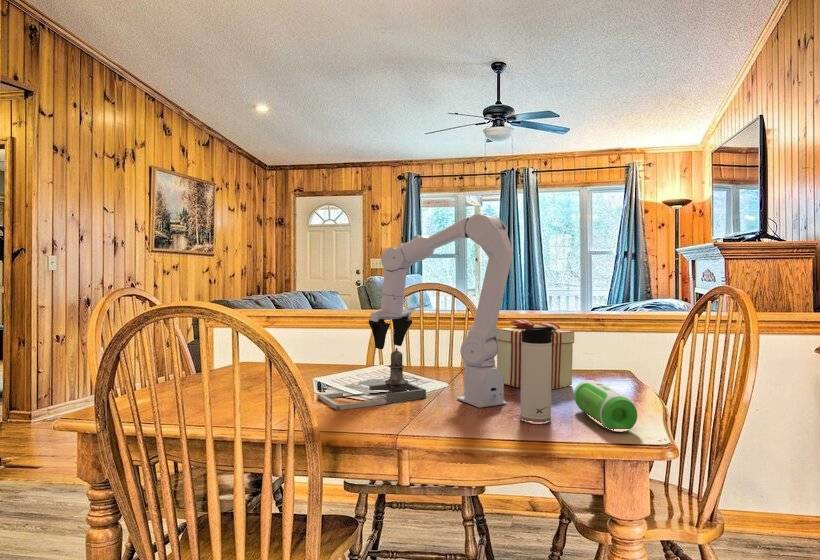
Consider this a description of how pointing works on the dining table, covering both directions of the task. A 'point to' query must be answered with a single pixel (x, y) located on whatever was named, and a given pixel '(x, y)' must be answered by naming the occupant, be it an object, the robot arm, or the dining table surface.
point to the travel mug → (536, 374)
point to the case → (402, 393)
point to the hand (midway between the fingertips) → (388, 346)
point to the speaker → (605, 405)
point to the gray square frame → (350, 405)
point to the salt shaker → (396, 374)
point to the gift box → (512, 353)
